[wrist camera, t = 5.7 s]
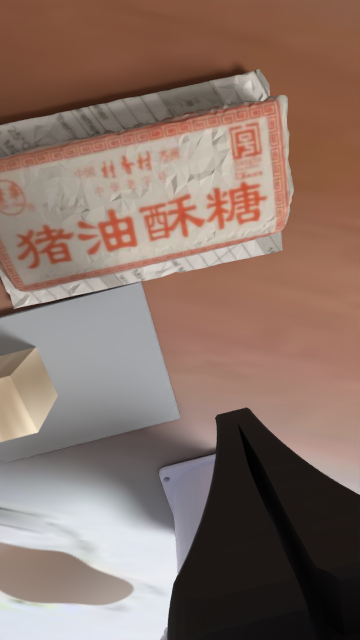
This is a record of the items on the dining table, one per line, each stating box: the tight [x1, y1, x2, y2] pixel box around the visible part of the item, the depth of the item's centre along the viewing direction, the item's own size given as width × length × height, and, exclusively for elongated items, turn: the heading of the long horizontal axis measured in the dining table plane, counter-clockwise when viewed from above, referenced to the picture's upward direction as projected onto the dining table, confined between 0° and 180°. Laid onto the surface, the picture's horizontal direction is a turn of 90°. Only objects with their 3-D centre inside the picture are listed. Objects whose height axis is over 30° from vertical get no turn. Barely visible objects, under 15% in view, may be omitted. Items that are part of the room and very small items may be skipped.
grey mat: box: [0, 281, 180, 464], centre depth 22 cm, size 11×22×1 cm, turn 104°
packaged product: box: [0, 70, 294, 309], centre depth 17 cm, size 18×5×10 cm
